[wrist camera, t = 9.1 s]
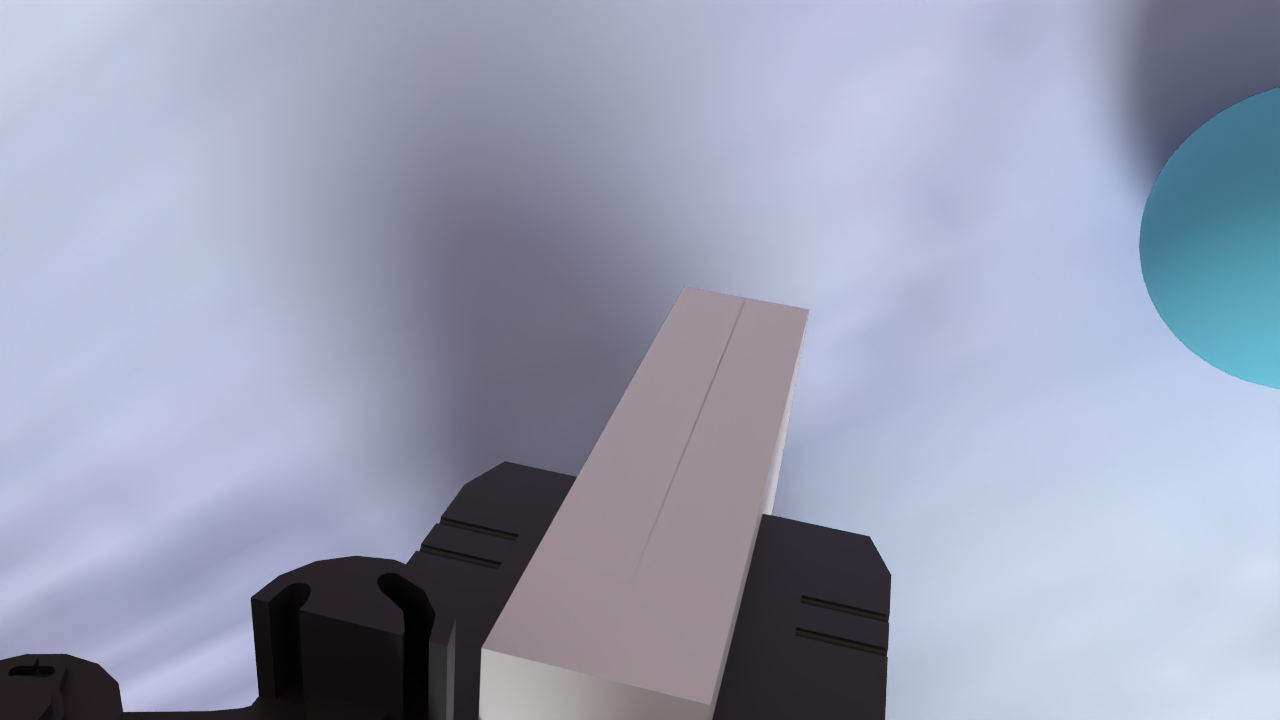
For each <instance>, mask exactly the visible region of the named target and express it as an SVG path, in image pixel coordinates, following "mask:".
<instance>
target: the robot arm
mask: <svg viewBox="0 0 1280 720" xmlns="http://www.w3.org/2000/svg"><path fill="white" fill-rule="evenodd" d="M808 315H809V309H803V308H798V307H792V306H787V305H781V304H776V303H770V302H765V301H759V300H754V299H748V298H743V297H737V296H732V295H726V294H721V293H715V292H710V291H704V290H699V289H693V288H688V287H683V289H682V291H681V293H680V295H679V296H678V298H677V300H676V302H675V303H674V305H673V307H672V309H671V311H670V312H669V314H668V316H667V318H666V320H665V321H664V323H663V325H662V327H661V328H660V330H659V332H658V334H657V336H656V337H655V339H654V341H653V343H652V345H651V346H650V348H649V350H648V352H647V353H646V355H645V357H644V359H643V361H642V362H641V364H640V366H639V368H638V370H637V371H636V373H635V375H634V377H633V378H632V380H631V382H630V384H629V386H628V387H627V389H626V391H625V393H624V395H623V396H622V398H621V400H620V402H619V403H618V405H617V407H616V409H615V411H614V412H613V414H612V416H611V418H610V420H609V421H608V423H607V425H606V427H605V428H604V430H603V432H602V434H601V436H600V437H599V439H598V441H597V443H596V445H595V446H594V448H593V450H592V452H591V453H590V455H589V457H588V459H587V461H586V462H585V464H584V466H583V468H582V470H581V471H580V473H579V475H578V477H574V476H570V475H565V474H560V473H556V472H551V471H546V470H542V469H537V468H533V467H528V466H523V465H519V464H514V463H510V462H503V463H502V464H500V465H498V466H496V467H495V468H493V469H491V470H489V471H488V472H486V473H484V474H482V475H481V476H479V477H477V478H475V479H474V480H472V481H470V482H469V483H467V484H465V485H464V486H463V488H462V489H461V490H460V492H459V493H458V495H457V496H456V497H455V499H454V500H453V501H452V503H451V504H450V505H449V507H448V508H447V510H446V511H445V512H444V514H443V515H442V516H441V521H440V523H439V524H437V523H436V525H435V526H434V527H433V529H432V530H431V531H430V533H429V534H428V535H427V537H426V538H425V540H424V541H423V542H422V544H421V548H420V551H416V552H415V553H414V554H413V556H412V557H411V559H410V560H409V561H408V563H407V564H404V563H401V562H398V561H396V560H392V559H382V558H372V557H362V556H351V557H344V558H336V559H329V560H321V561H315V562H313V563H310V564H308V565H305V566H303V567H300V568H297V569H295V570H292V571H290V572H287V573H285V574H282V575H279V576H278V577H277V578H276V579H274V580H273V581H272V582H270V583H269V584H268V585H266V586H265V587H264V588H263V589H261V590H260V591H259V592H257V593H256V594H255V595H253V596H252V597H251V607H252V619H253V631H254V643H255V654H256V666H257V678H258V690H259V697H258V698H257V699H256V700H255V702H254V703H253V704H252V706H249V707H245V708H239V709H229V710H218V711H189V712H123V708H122V702H121V696H120V690H119V684H118V682H117V681H116V680H114V679H113V678H112V677H111V676H110V675H109V674H108V673H107V672H106V671H105V670H104V669H103V668H102V667H101V666H100V665H99V664H97V663H93V662H90V661H87V660H84V659H81V658H77V657H74V656H71V655H68V654H25V655H21V656H16V657H12V658H8V659H4V660H0V720H885V707H886V684H887V660H888V657H887V651H888V637H889V623H888V620H889V614H890V590H891V574H890V572H889V570H888V569H887V567H886V565H885V563H884V561H883V560H882V558H881V556H880V554H879V552H878V551H877V549H876V547H875V545H874V543H873V542H872V540H871V538H870V537H869V536H865V535H860V534H856V533H851V532H846V531H842V530H837V529H832V528H828V527H823V526H818V525H814V524H809V523H805V522H800V521H795V520H791V519H786V518H781V517H777V516H772V515H771V514H772V509H773V505H774V500H775V494H776V489H777V484H778V478H779V473H780V467H781V462H782V456H783V451H784V445H785V440H786V434H787V429H788V424H789V418H790V413H791V407H792V402H793V396H794V391H795V385H796V380H797V374H798V369H799V364H800V358H801V353H802V347H803V342H804V336H805V331H806V325H807V320H808Z"/></svg>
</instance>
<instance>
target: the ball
mask: <svg viewBox="0 0 1280 720" xmlns="http://www.w3.org/2000/svg"><path fill="white" fill-rule="evenodd" d="M1139 251H1140V260H1141V268H1142V274H1143V277H1144V281H1145V284H1146V287H1147V290H1148V293H1149V296H1150V298H1151V300H1152V302H1153V304H1154V306H1155V308H1156V309H1157V311H1158V313H1159V315H1160V317H1161V318H1162V319H1163V321H1164V322H1165V323H1166V325H1167V326H1168V327H1169V329H1170V330H1171V331H1172V332H1173V334H1174V335H1175V336H1176V337H1177V338H1178V339H1179V340H1180V341H1181V342H1182V343H1183V344H1184V345H1185V346H1186V347H1187V348H1188V349H1189V350H1191V351H1192V352H1193V353H1195V354H1196V355H1198V356H1199V357H1200V358H1202V359H1203V360H1204V361H1206V362H1208V363H1209V364H1211V365H1212V366H1214V367H1216V368H1218V369H1220V370H1222V371H1224V372H1225V373H1227V374H1229V375H1232V376H1235V377H1237V378H1240V379H1242V380H1245V381H1248V382H1251V383H1255V384H1260V385H1264V386H1268V387H1272V388H1276V389H1280V87H1278V88H1274V89H1270V90H1268V91H1265V92H1262V93H1259V94H1256V95H1254V96H1251V97H1249V98H1246V99H1244V100H1242V101H1240V102H1238V103H1236V104H1234V105H1232V106H1230V107H1228V108H1227V109H1225V110H1223V111H1222V112H1220V113H1218V114H1217V115H1215V116H1214V117H1213V118H1211V119H1210V120H1208V121H1207V122H1206V123H1204V124H1203V125H1202V126H1200V127H1199V128H1198V129H1197V130H1195V131H1194V132H1193V133H1192V134H1191V135H1190V136H1189V137H1188V138H1187V139H1186V140H1185V141H1184V142H1183V143H1182V144H1181V145H1180V146H1179V148H1178V149H1177V150H1176V151H1175V152H1174V153H1173V155H1172V156H1171V157H1170V158H1169V160H1168V161H1167V163H1166V164H1165V166H1164V167H1163V169H1162V170H1161V172H1160V174H1159V175H1158V177H1157V179H1156V181H1155V183H1154V185H1153V187H1152V189H1151V192H1150V194H1149V197H1148V199H1147V202H1146V205H1145V209H1144V212H1143V217H1142V222H1141V230H1140V243H1139Z"/></svg>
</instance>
